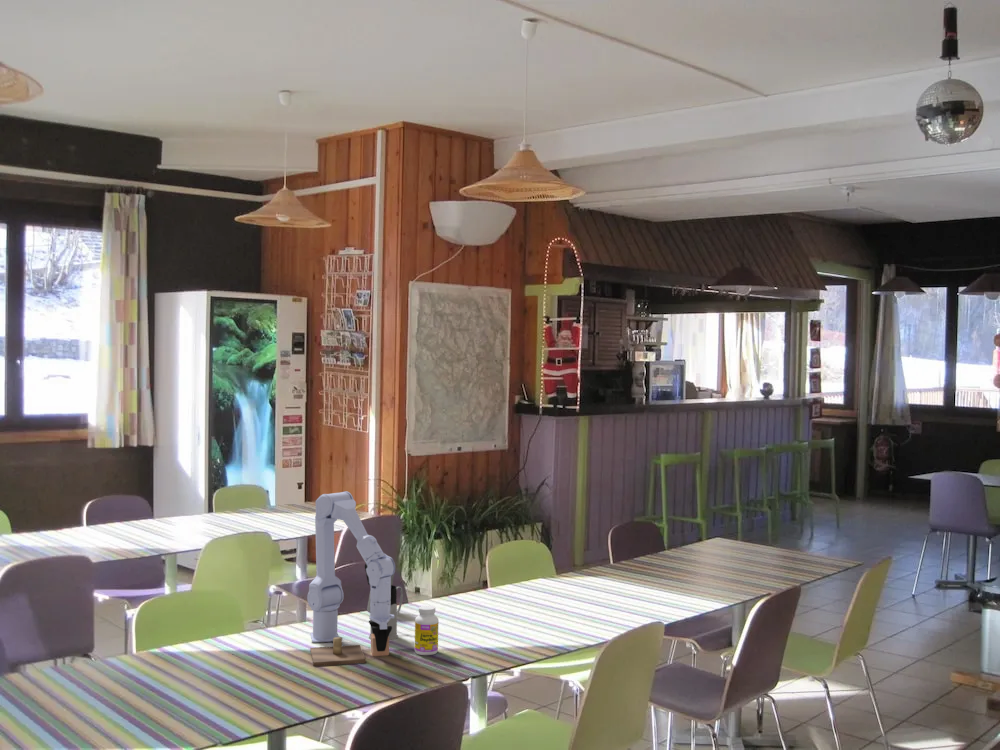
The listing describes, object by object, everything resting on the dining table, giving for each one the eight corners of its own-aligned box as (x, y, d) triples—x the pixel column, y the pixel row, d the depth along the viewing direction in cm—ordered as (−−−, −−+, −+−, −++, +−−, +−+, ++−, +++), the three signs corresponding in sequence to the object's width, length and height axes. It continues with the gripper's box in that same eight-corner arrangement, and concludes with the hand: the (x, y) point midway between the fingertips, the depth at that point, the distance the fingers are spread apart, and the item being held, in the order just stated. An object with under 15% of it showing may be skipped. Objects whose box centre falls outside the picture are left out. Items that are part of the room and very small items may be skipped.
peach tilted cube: (370, 651, 276) (370, 633, 276) (386, 650, 277) (387, 633, 277) (372, 656, 271) (372, 638, 271) (389, 655, 272) (389, 637, 272)
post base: (310, 651, 275) (310, 633, 275) (359, 648, 279) (360, 630, 279) (313, 666, 262) (313, 646, 262) (365, 662, 265) (365, 643, 265)
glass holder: (362, 638, 289) (363, 588, 288) (389, 627, 301) (390, 579, 301) (387, 643, 284) (387, 592, 284) (413, 631, 297) (414, 582, 297)
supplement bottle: (416, 656, 271) (417, 611, 271) (412, 650, 278) (413, 605, 278) (440, 655, 273) (440, 609, 273) (435, 648, 279) (436, 604, 279)
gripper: (398, 605, 268) (397, 654, 268) (390, 593, 282) (390, 640, 282) (372, 607, 266) (372, 656, 266) (366, 595, 280) (366, 641, 280)
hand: (379, 648), depth 274 cm, fingers open, 5 cm apart
